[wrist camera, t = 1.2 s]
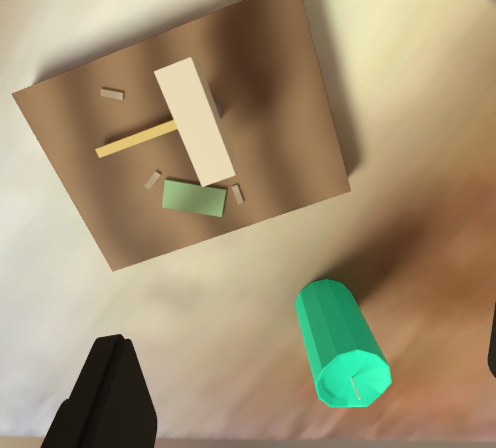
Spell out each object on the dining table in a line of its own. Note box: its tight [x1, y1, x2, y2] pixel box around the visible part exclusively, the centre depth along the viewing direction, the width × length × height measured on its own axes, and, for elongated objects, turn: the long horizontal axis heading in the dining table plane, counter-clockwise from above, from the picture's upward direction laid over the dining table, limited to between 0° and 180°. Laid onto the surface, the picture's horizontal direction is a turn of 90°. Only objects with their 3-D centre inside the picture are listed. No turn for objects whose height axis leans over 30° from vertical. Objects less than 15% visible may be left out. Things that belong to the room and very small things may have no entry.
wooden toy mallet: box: [95, 57, 236, 187], centre depth 26 cm, size 10×7×7 cm
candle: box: [295, 279, 392, 407], centre depth 33 cm, size 6×6×12 cm
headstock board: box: [12, 0, 351, 271], centre depth 31 cm, size 22×16×3 cm
